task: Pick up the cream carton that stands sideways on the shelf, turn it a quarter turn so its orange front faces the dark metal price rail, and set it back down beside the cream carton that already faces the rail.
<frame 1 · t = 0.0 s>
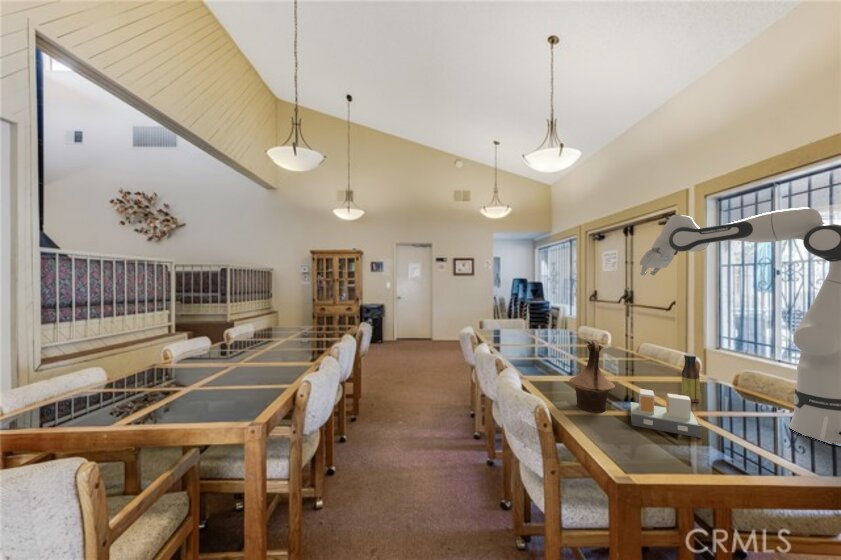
hand: (647, 274, 169), 54 cm above the table, tool tilted 30°, fingers open, 8 cm apart
shelf: (662, 421, 133), on the table
turned carton: (678, 415, 131), point 3 cm above the table, touching shelf
faced carton: (646, 410, 136), point 3 cm above the table, touching shelf
sauce bottle: (690, 401, 155), on the table
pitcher: (591, 408, 146), on the table
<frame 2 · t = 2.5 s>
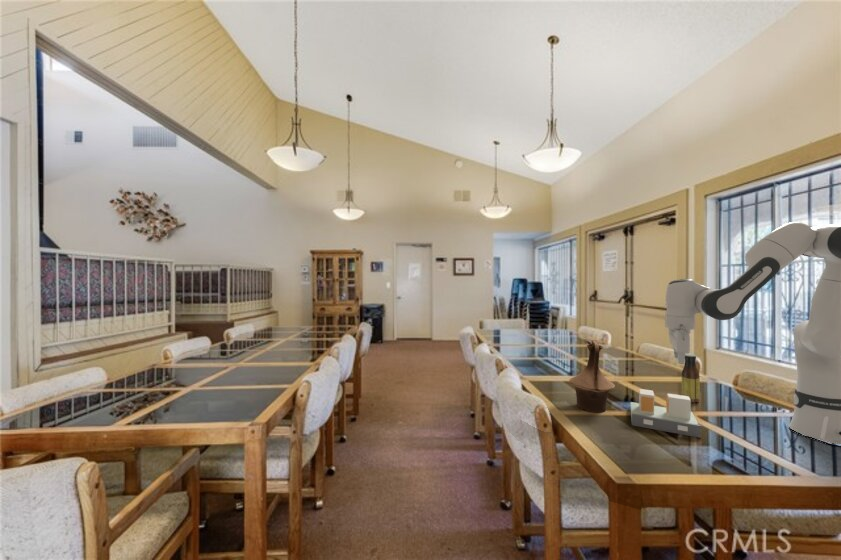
hand: (678, 360, 131), 23 cm above the table, tool pointing down, fingers open, 8 cm apart
nothing on the table moved.
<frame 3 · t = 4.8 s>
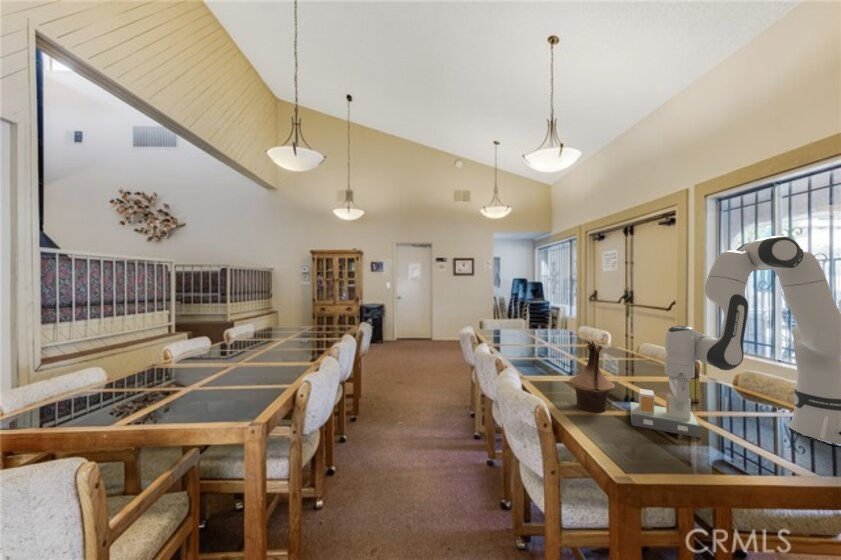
hand: (678, 407, 131), 6 cm above the table, tool pointing down, fingers closed on turned carton, 4 cm apart
turned carton: (678, 415, 131), point 3 cm above the table, touching gripper, shelf
everything else where it was.
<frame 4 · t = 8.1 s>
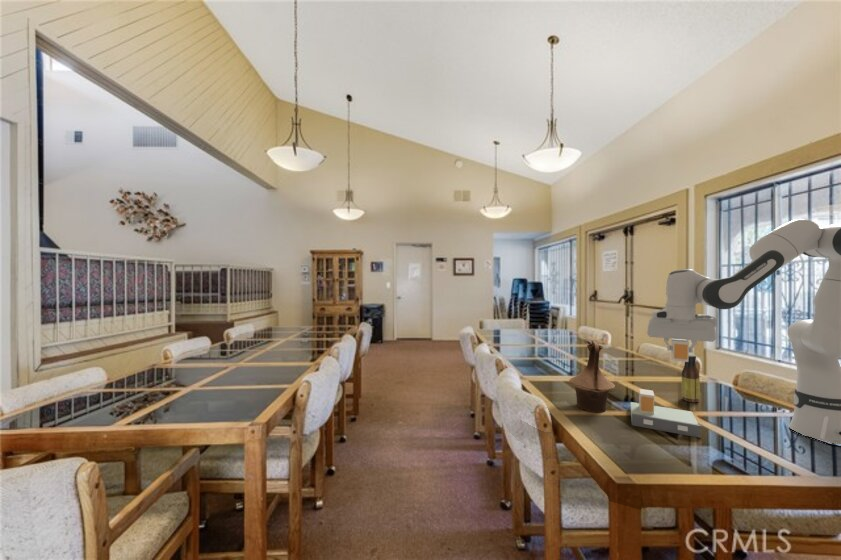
hand: (679, 351, 131), 27 cm above the table, tool pointing down, fingers closed on turned carton, 4 cm apart
turned carton: (679, 359, 131), point 24 cm above the table, touching gripper
everything else where it was.
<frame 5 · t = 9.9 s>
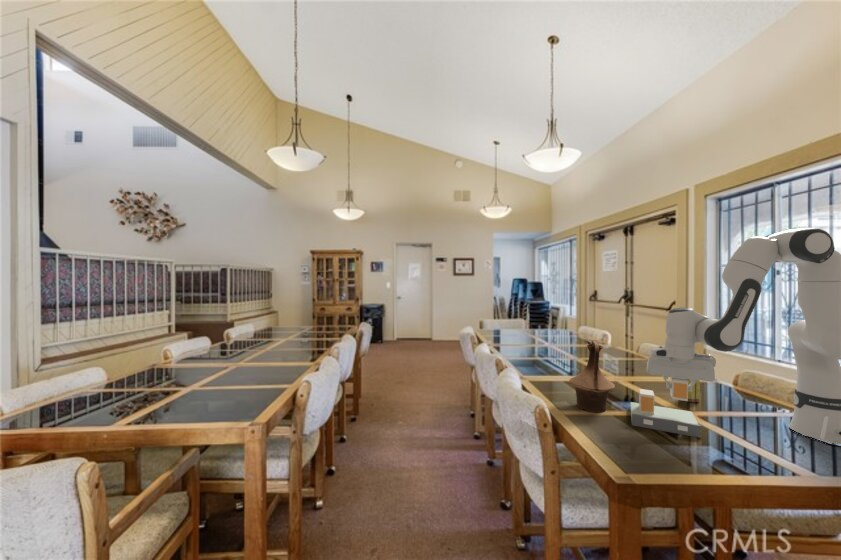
hand: (678, 389, 131), 13 cm above the table, tool pointing down, fingers closed on turned carton, 4 cm apart
turned carton: (678, 397, 131), point 10 cm above the table, touching gripper
everything else where it was.
when the fingers open (7 cm above the table, at t = 11.3 s): turned carton drops 1 cm, resting on shelf.
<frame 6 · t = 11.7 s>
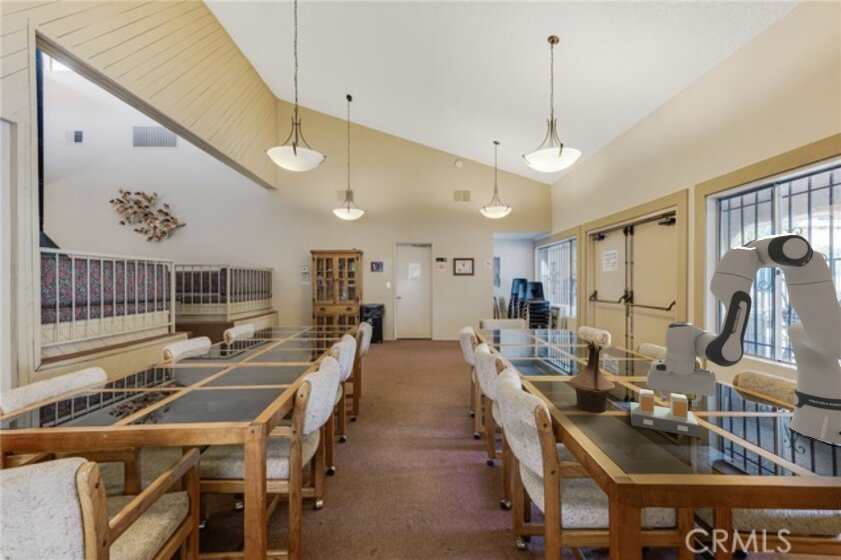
hand: (678, 403, 131), 7 cm above the table, tool pointing down, fingers open, 8 cm apart
turned carton: (678, 415, 131), point 3 cm above the table, touching shelf
everything else where it was.
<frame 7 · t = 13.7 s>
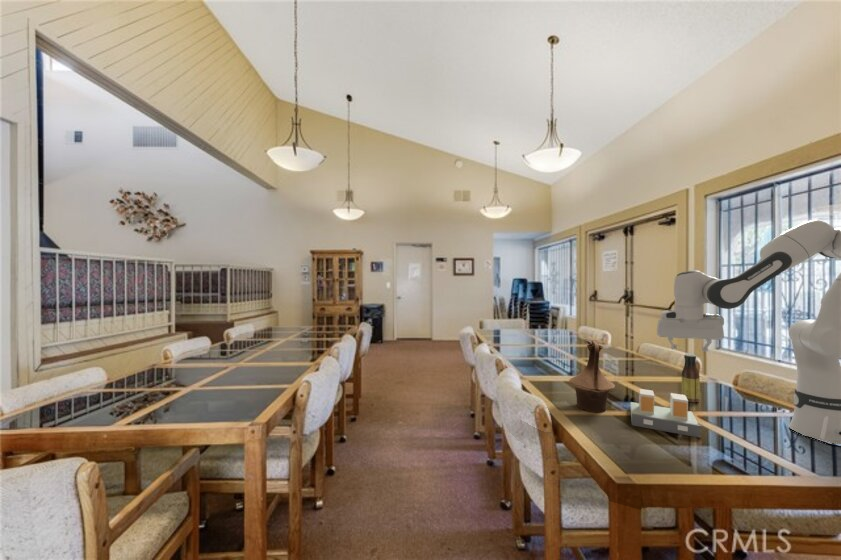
hand: (689, 350, 135), 26 cm above the table, tool pointing down, fingers open, 8 cm apart
nothing on the table moved.
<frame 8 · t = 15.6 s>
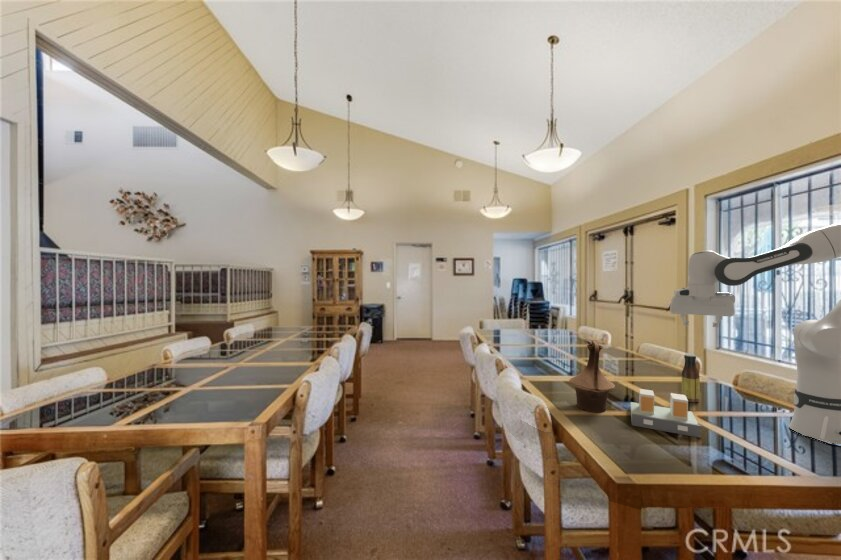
hand: (700, 326, 143), 34 cm above the table, tool pointing down, fingers open, 8 cm apart
nothing on the table moved.
at the end: turned carton inside the target area on the shelf (0.1 cm from its centre), point 3.0 cm above the shelf's base; turned carton tilted 0°; faced carton moved 0.0 cm from its start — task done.
